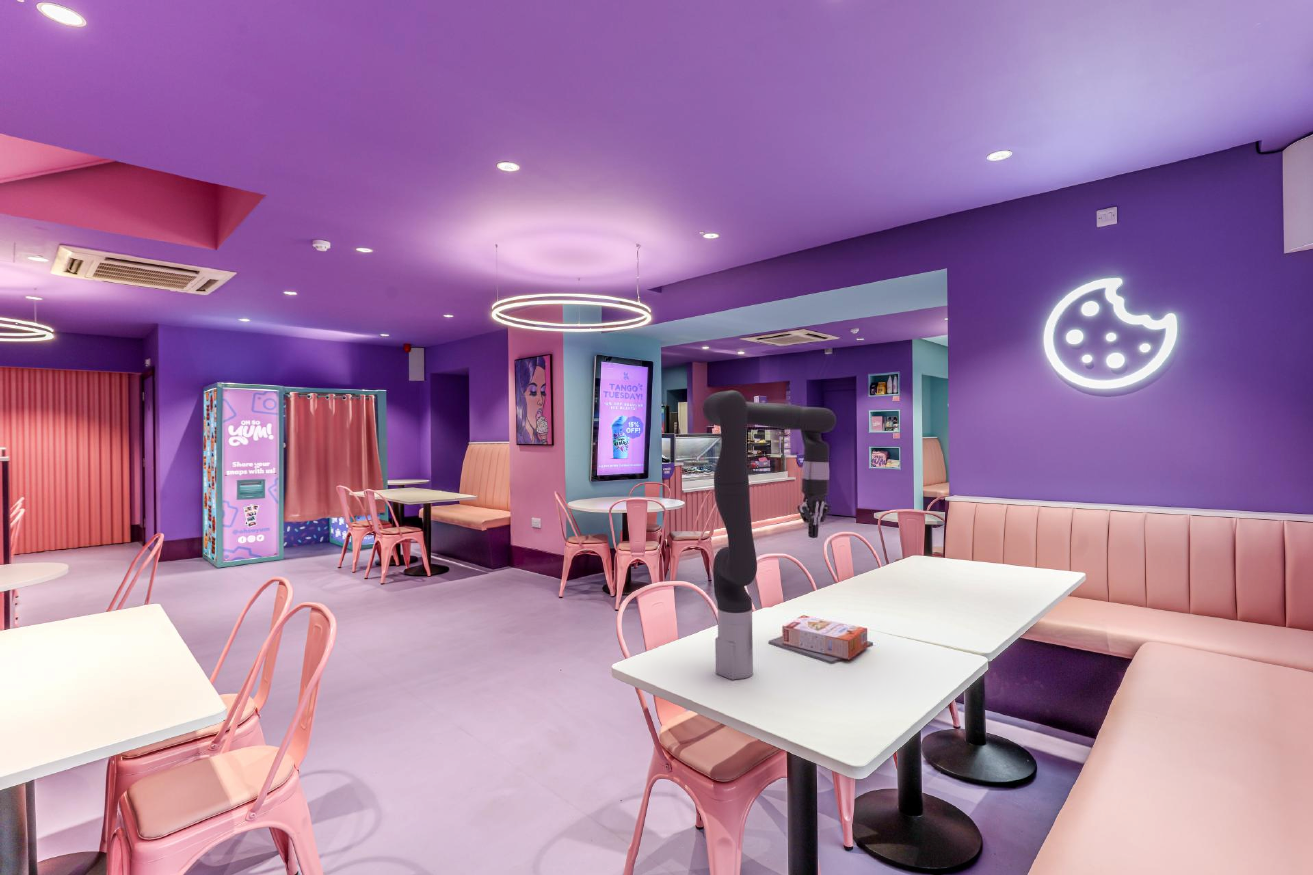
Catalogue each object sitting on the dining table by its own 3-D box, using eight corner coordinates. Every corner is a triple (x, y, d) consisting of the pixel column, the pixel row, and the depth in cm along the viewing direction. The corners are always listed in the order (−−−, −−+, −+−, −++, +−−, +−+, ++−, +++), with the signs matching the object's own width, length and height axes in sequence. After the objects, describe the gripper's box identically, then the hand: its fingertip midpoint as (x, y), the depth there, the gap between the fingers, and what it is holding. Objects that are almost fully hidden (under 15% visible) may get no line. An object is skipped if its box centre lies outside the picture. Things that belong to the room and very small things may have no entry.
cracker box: (849, 638, 162) (781, 624, 175) (850, 660, 162) (781, 645, 175) (867, 626, 173) (802, 614, 186) (868, 646, 173) (802, 633, 186)
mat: (831, 663, 162) (831, 661, 162) (768, 643, 179) (768, 640, 179) (873, 644, 176) (872, 642, 176) (810, 627, 193) (810, 625, 193)
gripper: (818, 476, 176) (816, 533, 176) (790, 476, 168) (787, 537, 168) (840, 478, 170) (837, 537, 170) (812, 478, 162) (809, 541, 162)
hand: (812, 537), depth 169 cm, fingers closed
